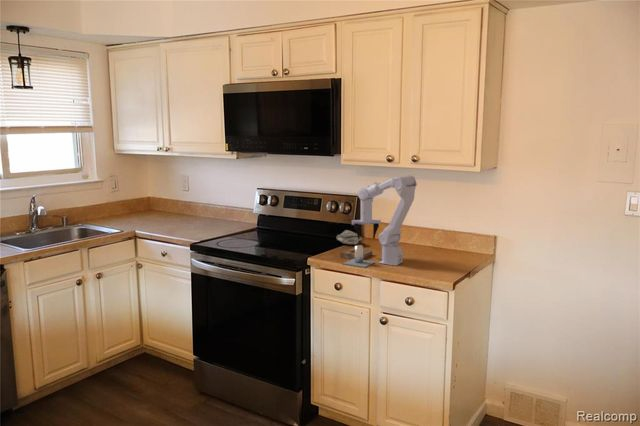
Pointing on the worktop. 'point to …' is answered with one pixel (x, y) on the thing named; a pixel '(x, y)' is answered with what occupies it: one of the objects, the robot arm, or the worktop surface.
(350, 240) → the rock
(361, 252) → the plug
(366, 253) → the bore block
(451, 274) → the worktop surface
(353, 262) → the mat
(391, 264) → the robot arm
